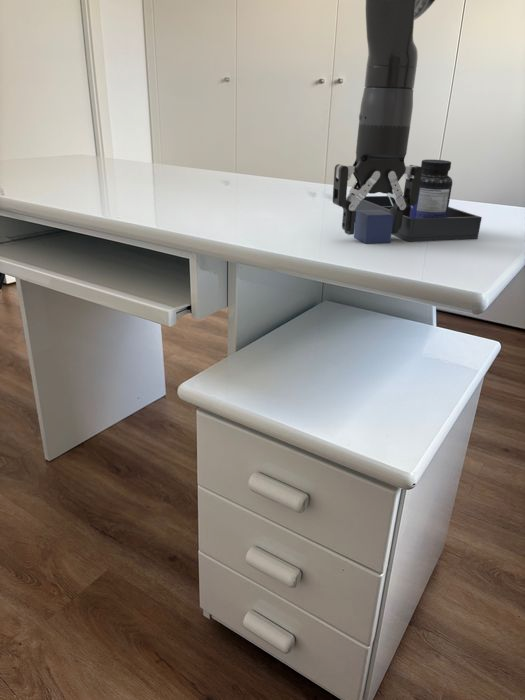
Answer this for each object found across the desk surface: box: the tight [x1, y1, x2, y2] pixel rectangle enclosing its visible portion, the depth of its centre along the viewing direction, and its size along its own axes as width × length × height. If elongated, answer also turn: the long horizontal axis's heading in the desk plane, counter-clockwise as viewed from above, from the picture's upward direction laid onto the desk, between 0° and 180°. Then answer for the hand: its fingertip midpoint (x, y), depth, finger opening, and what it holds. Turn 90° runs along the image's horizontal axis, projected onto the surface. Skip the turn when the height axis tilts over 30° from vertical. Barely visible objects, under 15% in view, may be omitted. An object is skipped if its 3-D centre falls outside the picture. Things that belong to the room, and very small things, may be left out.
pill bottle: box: [410, 159, 453, 219], centre depth 90 cm, size 6×6×11 cm
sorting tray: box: [354, 195, 483, 242], centre depth 97 cm, size 13×22×4 cm, turn 16°
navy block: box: [353, 210, 394, 245], centre depth 86 cm, size 4×4×4 cm
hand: (371, 232), depth 86 cm, fingers open, 7 cm apart
